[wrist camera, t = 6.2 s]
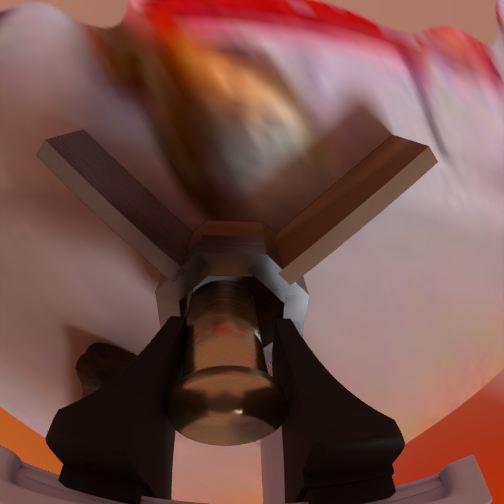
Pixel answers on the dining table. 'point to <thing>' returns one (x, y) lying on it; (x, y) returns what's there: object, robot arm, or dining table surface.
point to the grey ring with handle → (169, 234)
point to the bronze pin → (225, 372)
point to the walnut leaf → (334, 212)
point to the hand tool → (101, 366)
